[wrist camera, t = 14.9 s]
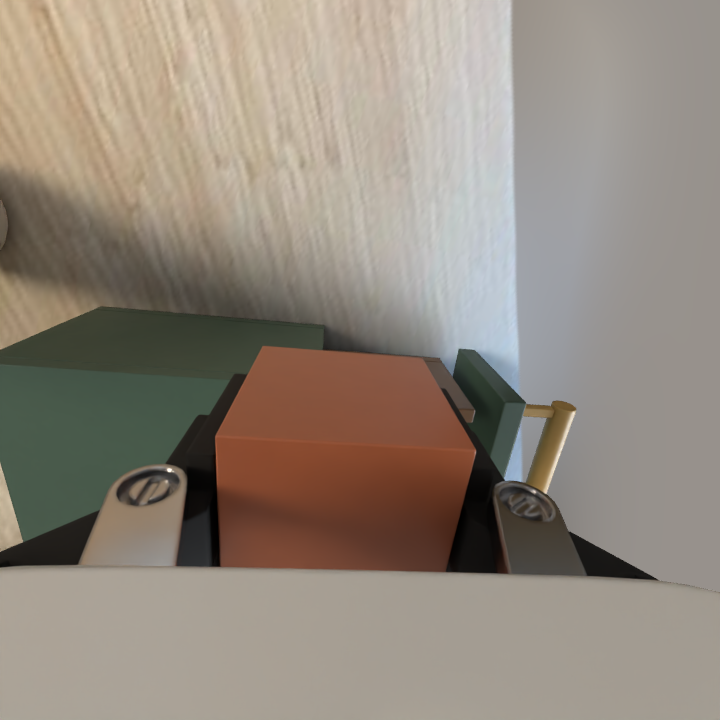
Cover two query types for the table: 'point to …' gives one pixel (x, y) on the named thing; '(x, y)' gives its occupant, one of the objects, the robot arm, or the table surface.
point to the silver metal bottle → (3, 224)
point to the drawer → (500, 413)
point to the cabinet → (115, 399)
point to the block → (340, 465)
